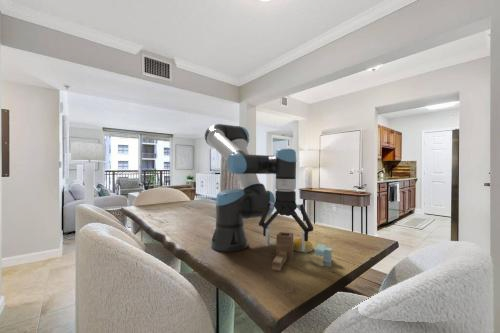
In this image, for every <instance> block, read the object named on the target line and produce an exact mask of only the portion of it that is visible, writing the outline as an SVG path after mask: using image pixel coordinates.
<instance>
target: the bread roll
mask: <svg viewBox="0 0 500 333" xmlns="http://www.w3.org/2000/svg"><path fill="white" fill-rule="evenodd" d="M313 249H314V246H313V243H311V241H310V240H308V241H305V250H304V251H302V237H300V238H296V239H295V240H293V251H294V250H295V252H298V253H302V254H303V253H304V254H305V253H311V252H312V251H313Z"/></svg>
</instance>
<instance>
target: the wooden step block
mask: <svg viewBox="0 0 500 333" xmlns="http://www.w3.org/2000/svg"><path fill="white" fill-rule="evenodd" d="M293 242H294V233H292V232H285V231H284V232H282V231H279V232H278V233H277V235H276V242H275V243H276V246H275V247H276V250H275V251H276V252H275V254H276V255H275V257H274V259H273V260H272V262H271V263H272V267H271V268H272V270H273V271H278V270H279V271H281V269H282V268H283V267H284V265H285V263H286V261H287V260H291V259H293V256H294V250H293Z"/></svg>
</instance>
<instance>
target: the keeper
mask: <svg viewBox="0 0 500 333" xmlns="http://www.w3.org/2000/svg"><path fill="white" fill-rule="evenodd" d="M314 254H315V256H317V257H323V267H328V268H332V247H326V244H319V243H318V244H317V245H316V248H315V253H314Z"/></svg>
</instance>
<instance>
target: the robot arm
mask: <svg viewBox="0 0 500 333" xmlns="http://www.w3.org/2000/svg"><path fill="white" fill-rule="evenodd" d="M249 137H250V134H249V131H248V129H246V127H243V126H240V125H230V124H223V123H216V124H213V125H210V126H208V128H207V129H206V131H205V133H204V139H205V142H206V144H207V145H208V146H209V147H211V148H212V149H215V151H217V153H219V154H220V156H221V157H223V158H224V160H225V161H226V167H227V170H228V172H229V173H231V174H236V175H237V176H238V179H239V182H240V185H241V188H232V189H231V188H230V189H225V190H222V191H219V192H218V193H217V194H216V201H215V228H214V232H213V235H212V238H211V240H210V243H211V244H210V245H211V246H210V247H211V249H213V250H215V251H218V252H224V253H230V252H233V253H234V252H239V251H243V250H245V249H246V248H248V237H247V234H246V231H245V230H246V229H245V228H244V224H245V222H244V221H245V220H247V219H256V218H261V219H260V220H259V222H258V226H259V227H262V229H263V231H262V232H263V237H265V246H266V247H268V246H269V245H270V236H271V234H270V233H271V230H270V229H271V228H270V227H269V225H270V224H271V223H272V222H273V221H274V220H275V219H276V217H278V215H279V216H287V217H289V216H291V217H292V218H293V219H294V221H295V222H297V224H298V225H299V227H300V228H301V229H302V232H301V238H302V251H304V250H305V241H309V232H313V231H314V225H313V224H312V221H311V219H310V218H309V215H308V213H307V212H306V208H305V204H304V203H301V204H297V201H296V200H297V198H296V197H297V195H296V194H297V192H296V191H295V190H296V189H297V151H296V150H295V149H293V148H278V149H276V151H275V154H274V155H266V154H265V155H263V154H249V151H248V148H247V147H248V145H249V142H250V138H249ZM261 174H262V175H275V193H273V192H272V191H270V190H267V189H266V187H265V185H264V184H263V183H262V182H260V180H259V178H258V175H261ZM274 210H276V211H274ZM295 210H298V211H300V213H301V215H302V218H303V219H304V221H303V220H302V219H301V218H300V216H299V214H298V213H297V212H296V211H295ZM273 212H274V213H273ZM269 216H270V217H269ZM267 217H269V218H268V219H267ZM266 220H267V221H266ZM304 222H305V223H304Z"/></svg>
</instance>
